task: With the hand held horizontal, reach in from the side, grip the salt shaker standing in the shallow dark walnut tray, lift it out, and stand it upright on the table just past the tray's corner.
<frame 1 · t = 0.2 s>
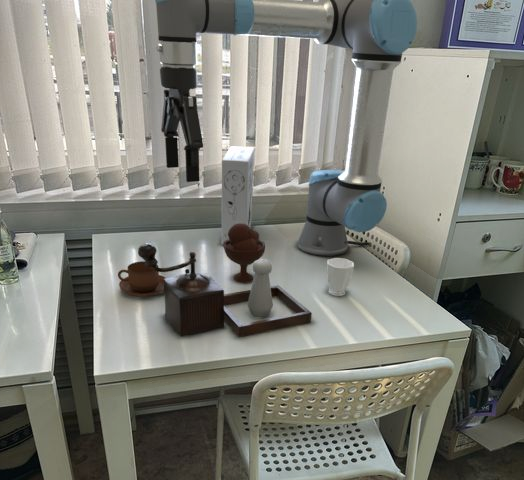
hand: (182, 174, 116), 28 cm above the table, tool pointing down, fingers open, 13 cm apart
cup: (334, 290, 134), on the table
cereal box: (237, 234, 167), on the table
tray: (259, 314, 120), on the table
salt shaker: (259, 314, 120), resting in tray
cup and saucer: (144, 290, 128), on the table
manual coffee grinder: (183, 324, 114), on the table
ice cream bowl: (243, 279, 137), on the table
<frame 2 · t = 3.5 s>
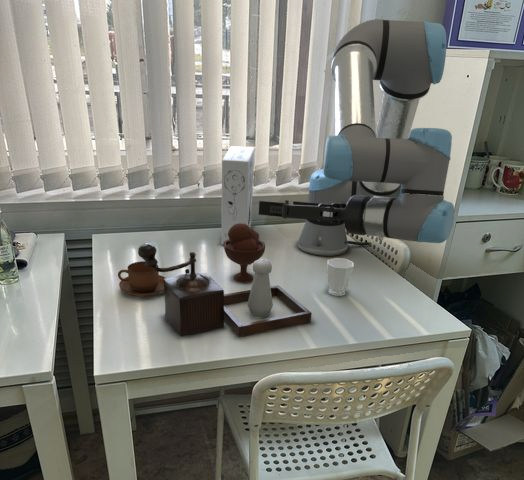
hand: (277, 207, 112), 24 cm above the table, tool horizontal, fingers open, 13 cm apart
nothing on the table moved.
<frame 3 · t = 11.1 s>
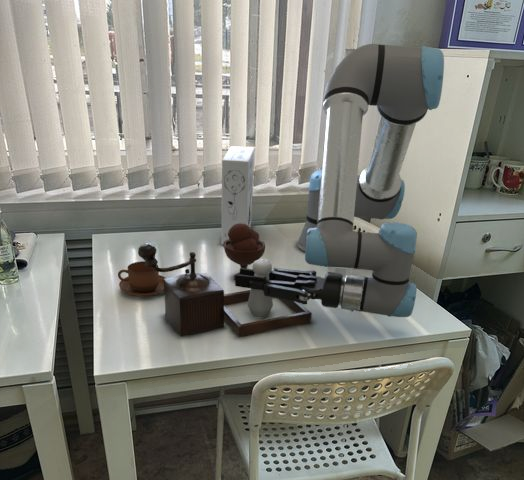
hand: (238, 276, 117), 8 cm above the table, tool horizontal, fingers closed on salt shaker, 3 cm apart
salt shaker: (259, 314, 120), resting in tray, touching gripper
everything else where it was.
when the fingers open (9 cm above the table, at t = 19.0 s): salt shaker stays where it is, on the table.
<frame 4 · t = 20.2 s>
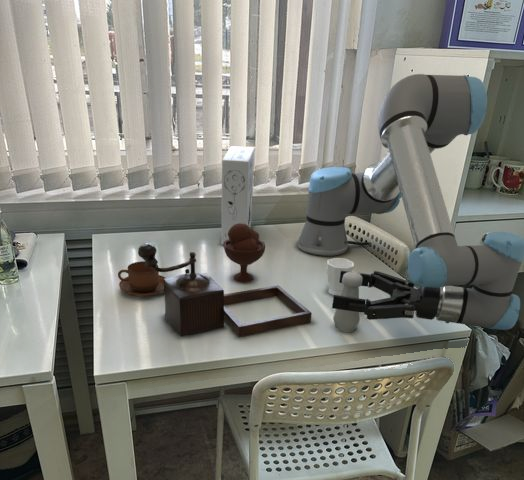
hand: (336, 288, 112), 9 cm above the table, tool horizontal, fingers open, 13 cm apart
salt shaker: (345, 328, 116), on the table
everything else where it was.
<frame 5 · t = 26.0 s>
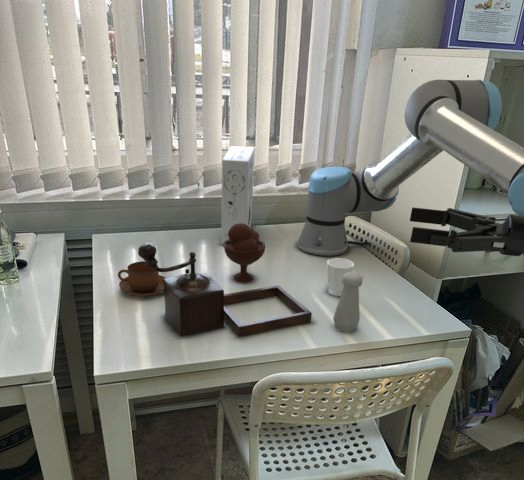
hand: (411, 223, 102), 25 cm above the table, tool horizontal, fingers open, 13 cm apart
nothing on the table moved.
at the end: salt shaker inside the target area (0.9 cm from its centre), on the table; salt shaker tilted 0°; the gripper is holding nothing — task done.
